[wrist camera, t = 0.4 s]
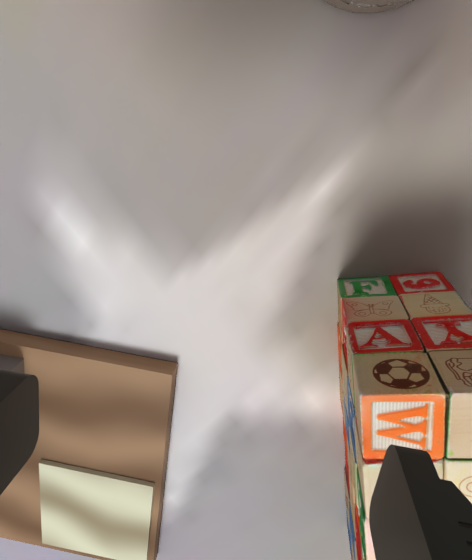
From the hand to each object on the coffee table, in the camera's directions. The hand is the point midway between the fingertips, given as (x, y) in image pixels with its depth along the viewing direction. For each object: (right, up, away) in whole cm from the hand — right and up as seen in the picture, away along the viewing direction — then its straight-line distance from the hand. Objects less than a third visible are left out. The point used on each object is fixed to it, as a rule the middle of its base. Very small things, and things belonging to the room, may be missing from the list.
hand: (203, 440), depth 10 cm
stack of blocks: (+11, -6, +21) cm, 25 cm away
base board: (-15, -10, +26) cm, 31 cm away
